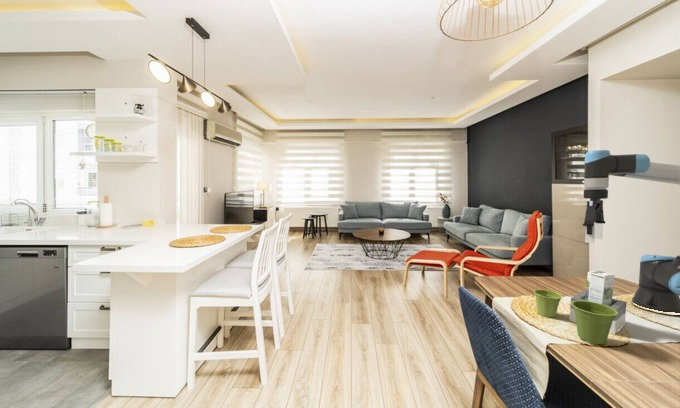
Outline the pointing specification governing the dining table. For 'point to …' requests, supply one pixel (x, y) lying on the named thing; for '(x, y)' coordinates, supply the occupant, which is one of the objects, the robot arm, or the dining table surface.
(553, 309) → the plant pot
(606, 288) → the syrup box
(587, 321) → the plant pot
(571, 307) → the socket block
